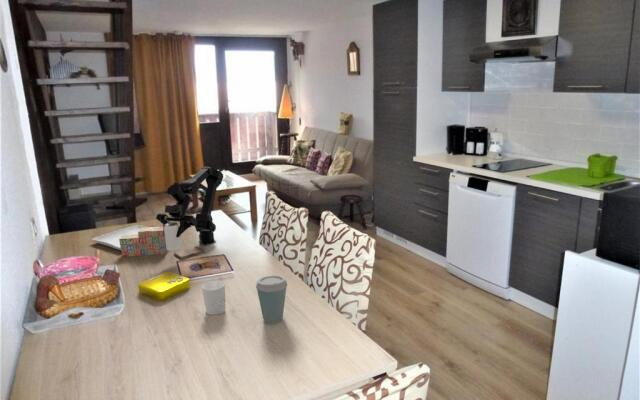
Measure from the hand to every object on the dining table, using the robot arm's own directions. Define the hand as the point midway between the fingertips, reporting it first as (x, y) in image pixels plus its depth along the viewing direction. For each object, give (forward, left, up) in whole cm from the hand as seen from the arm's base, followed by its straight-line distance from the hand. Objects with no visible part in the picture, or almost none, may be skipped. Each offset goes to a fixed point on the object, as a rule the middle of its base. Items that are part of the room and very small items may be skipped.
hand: (170, 236), depth 204 cm
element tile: (+15, +23, -14) cm, 31 cm away
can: (-1, -1, -7) cm, 7 cm away
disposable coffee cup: (-2, +73, -13) cm, 74 cm away
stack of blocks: (+3, -24, -14) cm, 28 cm away
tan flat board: (-11, -7, -13) cm, 19 cm away
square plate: (+2, -49, -14) cm, 51 cm away
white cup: (+9, +53, -14) cm, 55 cm away
